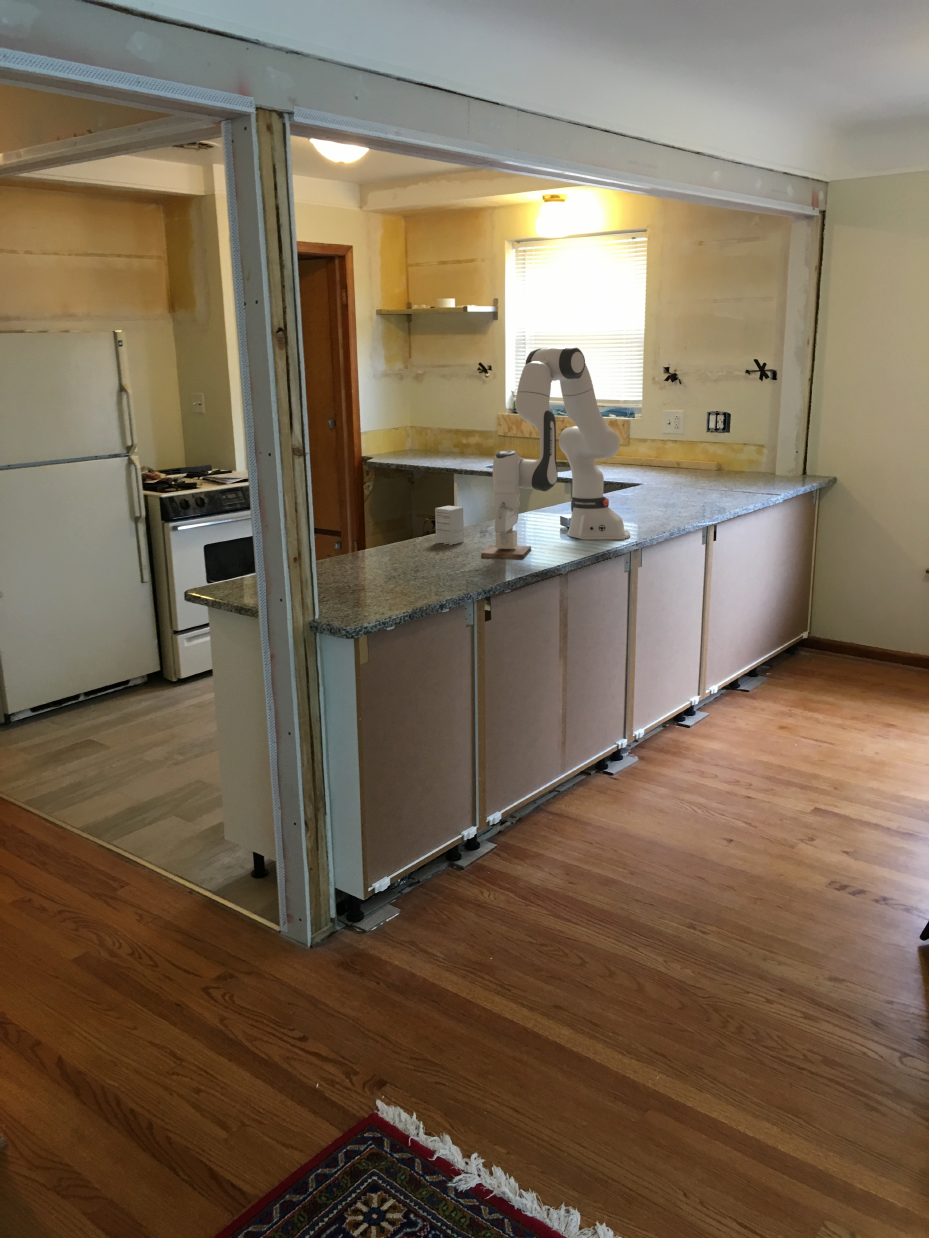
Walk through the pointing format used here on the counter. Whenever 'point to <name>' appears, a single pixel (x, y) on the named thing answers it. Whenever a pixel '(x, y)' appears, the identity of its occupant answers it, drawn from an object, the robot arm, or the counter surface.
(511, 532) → the collar
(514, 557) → the pin board
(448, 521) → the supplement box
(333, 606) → the counter surface
